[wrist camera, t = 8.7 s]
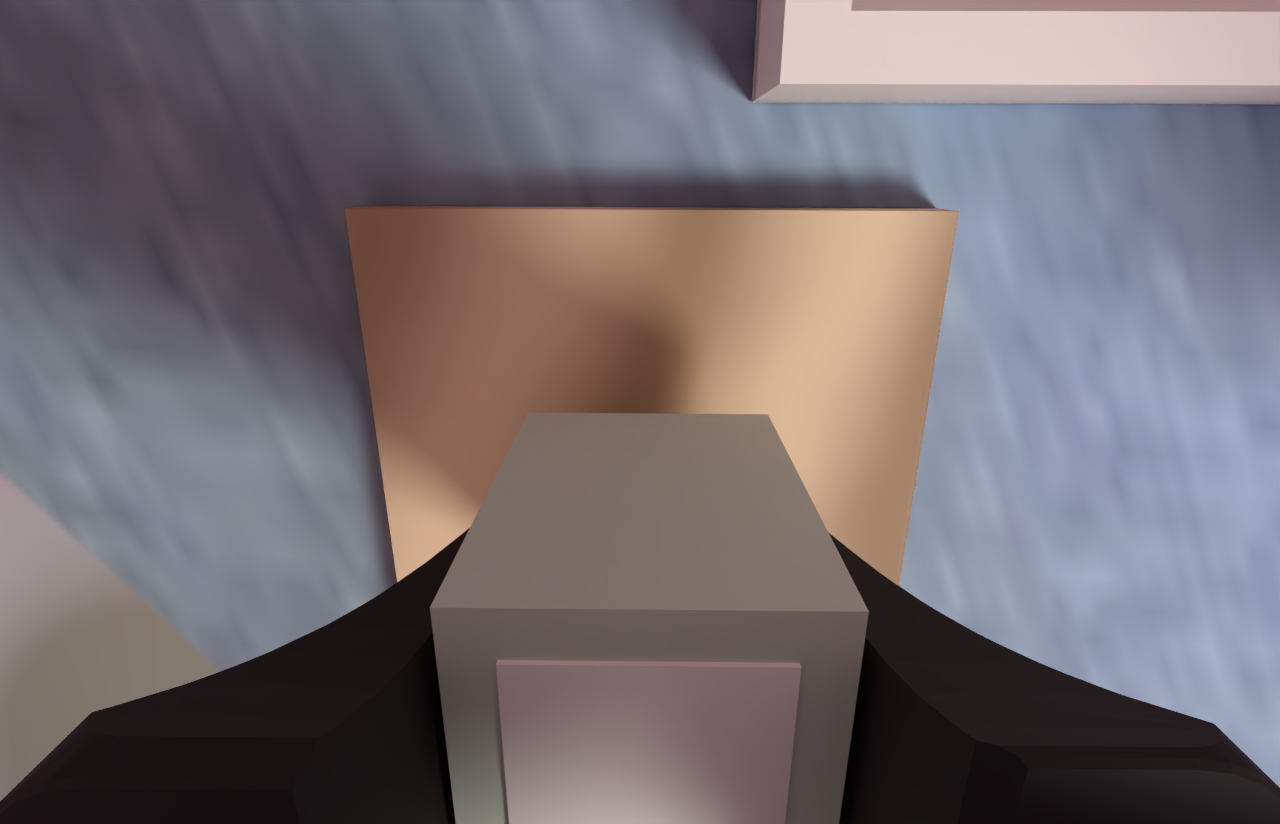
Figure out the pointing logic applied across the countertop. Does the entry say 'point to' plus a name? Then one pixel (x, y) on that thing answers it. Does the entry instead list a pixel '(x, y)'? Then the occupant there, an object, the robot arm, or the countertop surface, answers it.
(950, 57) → the bin
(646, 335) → the oak board
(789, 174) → the countertop surface
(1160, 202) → the countertop surface
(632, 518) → the gray box
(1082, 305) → the countertop surface
